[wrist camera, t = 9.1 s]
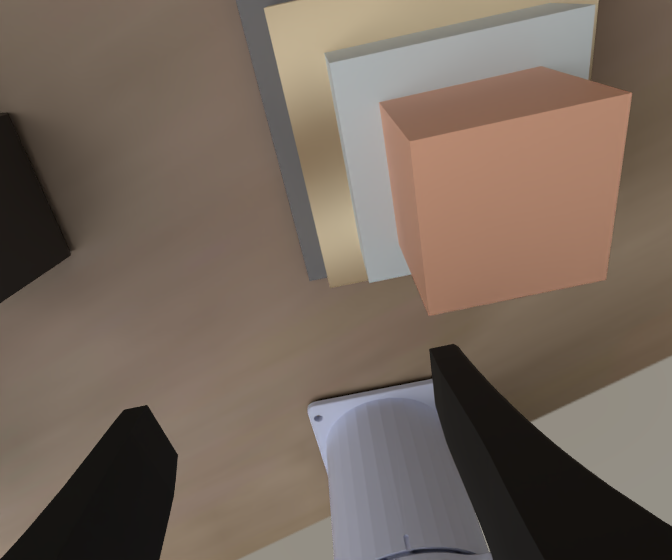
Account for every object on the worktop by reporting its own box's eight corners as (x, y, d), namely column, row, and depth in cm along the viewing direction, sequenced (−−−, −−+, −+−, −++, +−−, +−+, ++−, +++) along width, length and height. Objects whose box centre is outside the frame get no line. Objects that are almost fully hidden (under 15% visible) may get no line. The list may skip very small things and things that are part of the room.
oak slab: (546, 213, 21) (575, 238, 18) (326, 258, 21) (330, 288, 19) (562, -61, 15) (605, -70, 13) (268, 6, 16) (263, 8, 14)
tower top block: (539, 211, 18) (572, 241, 16) (360, 248, 18) (369, 282, 16) (550, 2, 14) (595, 4, 12) (324, 52, 14) (329, 62, 12)
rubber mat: (561, 223, 22) (567, 228, 21) (309, 275, 22) (309, 281, 22) (587, -104, 15) (595, -106, 15) (231, -22, 16) (229, -22, 15)
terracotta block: (535, 215, 15) (606, 279, 12) (398, 243, 15) (428, 316, 12) (540, 66, 13) (632, 92, 9) (378, 102, 13) (409, 141, 9)
